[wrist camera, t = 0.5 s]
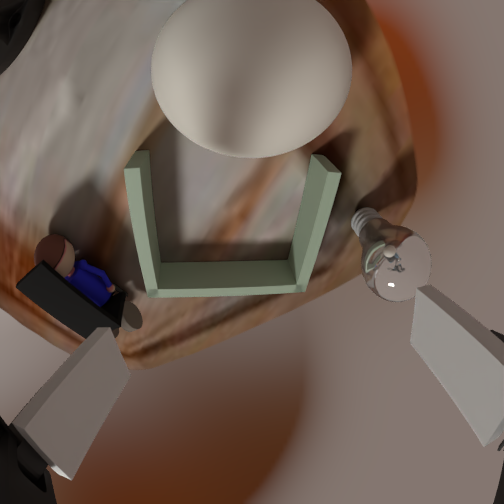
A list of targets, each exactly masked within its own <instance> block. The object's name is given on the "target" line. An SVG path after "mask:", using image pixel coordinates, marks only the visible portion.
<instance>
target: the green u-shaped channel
mask: <svg viewBox="0 0 504 504" xmlns="http://www.w3.org/2000/svg"><path fill="white" fill-rule="evenodd" d="M124 174H125V182H126V190H127V197H128V203H129V210H130V216H131V221H132V227H133V233H134V238H135V243H136V248H137V253H138V257H139V262H140V266H141V271H142V275H143V279H144V283H145V287H146V291H147V295H148V297H210V296H238V295H260V294H279V293H295V292H305V290H306V287H307V284H308V281H309V278H310V275H311V272H312V269H313V266H314V263H315V260H316V257H317V254H318V251H319V248H320V245H321V242H322V239H323V235H324V232H325V229H326V226H327V222H328V219H329V216H330V212H331V209H332V206H333V202H334V199H335V195H336V192H337V188H338V184H339V181H340V177H341V172H340V171H339V170H338V169H337V168H336V167H335V166H334V165H333V164H332V163H331V162H330V161H329V160H328V159H327V158H326V157H325V156H324V155H316V154H312V155H311V160H310V165H309V169H308V174H307V179H306V183H305V188H304V193H303V197H302V202H301V206H300V210H299V215H298V219H297V223H296V228H295V232H294V236H293V240H292V244H291V249H290V253H289V257H288V260H262V261H221V262H171V263H161V258H160V252H159V245H158V237H157V230H156V222H155V213H154V204H153V193H152V182H151V169H150V153H149V150H142V151H135V153H134V154H133V156H132V157H131V159H130V160H129V162H128V163H127V165H126V166H125V168H124Z"/></svg>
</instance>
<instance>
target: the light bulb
mask: <svg viewBox="0 0 504 504" xmlns="http://www.w3.org/2000/svg"><path fill="white" fill-rule="evenodd" d="M351 226H352V228H353V230H354V231H355V233H356V234H357V236H358V237H359V242H360V244H361V247H362V256H361V270H362V275H363V277H364V280H365V282H366V284H367V286H368V287H369V288H370V290H371V291H372V292H373V293H375V294H376V295H377V296H378V297H380V298H382V299H384V300H387V301H391V302H403V301H406V300H409V299H412V298H413V297H415V296H416V288H418V287H422V286H426V284H427V282H428V280H429V277H430V274H431V267H432V262H431V254H430V252H429V249H428V246H427V244H426V243H425V241H424V240H423V239H422V237H421V236H420V235H419V234H417V233H416V232H415V231H413V230H411V229H409V228H407V227H403V226H398V225H393V224H391V223H390V222H388V221H387V220H385V219H383V218H382V217H381V216H380V215H379V214H378V213H377V211H376V210H375V209H373V208H369V207H365V208H361V209H359V210H357V211H356V212H355V214H354V216H353V217H352V220H351Z"/></svg>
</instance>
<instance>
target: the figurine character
mask: <svg viewBox="0 0 504 504" xmlns="http://www.w3.org/2000/svg"><path fill="white" fill-rule="evenodd" d="M34 262H35V267H34V268H33V269H32V270H31V271H30V272H29V273H27V274H26V275H25V276H24V277H23V278H22V279H21V280H20V281H19V282H18V283H17V285H16V288H17V289H18V290H20V291H21V292H22V293H23V294H24V295H26V296H27V297H28V298H29V299H30V300H32V301H33V302H34V303H36V304H37V305H38V306H39V307H41V308H42V309H43V310H45V311H46V312H47V313H49V314H50V315H51V316H53V317H54V318H56V319H57V320H58V321H60V322H61V323H63V324H64V325H66V326H67V327H69V328H70V329H72V330H73V331H75V332H76V333H78V334H79V335H81V336H82V337H84V338H85V339H87V338H88V337H89V336H90V335H91V334H92V333H93V332H94V331H95V330H96V329H97V328H98V327H110V328H111V331H112V333H113V336H114V338H116V337H117V336H118V334H119V327H122V328H123V329H124V330H126V331H128V332H132V331H134V330H137V329H139V328H141V326H142V316H141V313H140V311H139V310H138V308H137V307H136V306H135V305H134V304H133V303H132V302H129V301H126V302H125V298H126V296H128V295H127V293H126V292H125V291H123V290H122V289H121V288H119V287H118V286H117V285H115V284H114V283H111V282H110V280H109V278H108V277H107V275H106V273H105V271H104V270H101V269H99V268H96V267H94V266H91V265H89V264H87V261H86V260H84V259H83V260H80V261H76V262H75V252H74V249H73V246H72V244H71V243H70V242H69V240H68V239H66V238H65V237H63V236H61V235H58V234H52V235H48V236H46V237H44V238H43V239H42V240H41V241H40V242H39V243H38V245H37V247H36V250H35V254H34ZM97 275H98V276H101V278H102V279H101V278H100V277H98V276H97ZM115 290H116V291H118V292H119V293H118V294H116V295H114V296H112V295H113V294H114V292H115Z"/></svg>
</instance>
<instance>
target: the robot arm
mask: <svg viewBox="0 0 504 504" xmlns="http://www.w3.org/2000/svg"><path fill="white" fill-rule="evenodd" d="M44 2H45V0H0V75H1V74H2V73H3V72H4V71H5V70H6V69H7V68H8V67H9V65H10V64H11V63H12V62H13V61H14V59H15V58H16V57H17V55H18V54H19V52H20V51H21V49H22V48H23V46H24V45H25V43H26V42H27V40H28V38H29V36H30V35H31V33H32V31H33V29H34V27H35V25H36V23H37V20H38V18H39V16H40V13H41V11H42V8H43V5H44ZM410 344H411V345H412V346H413V347H414V349H415V350H416V351H417V352H418V354H419V355H420V356H421V358H422V359H423V360H424V361H425V363H426V364H427V366H428V367H429V368H430V369H431V371H432V372H433V373H434V375H435V376H436V378H437V379H438V380H439V382H440V383H441V384H442V386H443V387H444V389H445V390H446V391H447V393H448V394H449V396H450V397H451V398H452V400H453V401H454V403H455V404H456V406H457V407H458V409H459V410H460V411H461V413H462V414H463V416H464V417H465V419H466V420H467V422H468V423H469V425H470V426H471V428H472V430H473V431H474V433H475V434H476V436H477V437H478V439H479V440H480V442H481V444H482V445H483V447H485V446H486V445H488V444H489V443H491V442H492V441H494V440H495V439H497V438H498V437H500V435H501V434H502V432H503V431H504V335H503V334H500V333H498V332H495V331H493V330H488V329H487V328H486V327H485V326H483V325H482V324H481V323H480V322H478V321H477V320H476V319H475V318H474V317H472V316H471V315H470V314H469V313H467V312H466V311H465V310H464V309H462V308H461V307H460V306H459V305H457V304H456V303H455V302H453V301H452V300H451V299H449V298H448V297H447V296H445V295H444V294H443V293H441V292H440V291H439V290H437V289H436V288H435V287H433V286H432V285H426V286H422V287H418V288H416V298H415V308H414V317H413V325H412V333H411V340H410ZM130 377H131V374H130V372H129V370H128V368H127V366H126V363H125V361H124V359H123V357H122V355H121V352H120V350H119V348H118V345H117V343H116V340H115V338H114V336H113V333H112V331H111V328H110V327H98V328H97V329H96V330H95V331H94V332H93V333H92V334H91V335H90V336H89V337H88V338H87V339H86V340H85V341H84V342H83V343H82V344H81V345H80V346H79V347H78V348H77V349H76V350H75V351H74V352H73V354H72V355H71V356H70V357H69V358H68V359H67V360H66V361H65V362H64V363H63V364H62V365H61V366H60V368H59V369H58V370H57V371H56V372H55V373H54V374H53V375H52V376H51V378H50V379H49V380H48V381H47V382H46V383H45V384H44V385H43V386H42V387H41V388H40V389H39V391H38V392H37V393H36V394H35V395H34V397H33V398H32V399H31V400H30V401H29V403H27V404H26V406H25V407H24V408H23V409H22V410H21V412H20V413H19V414H18V415H17V417H16V418H15V419H14V420H13V421H12V423H11V424H10V425H9V426H7V424H6V423H5V422H4V420H3V419H2V418H1V416H0V504H57V503H56V499H55V494H54V489H53V485H52V480H51V475H50V473H49V471H48V470H47V469H46V467H47V465H49V466H50V467H51V468H52V469H53V470H54V471H55V472H56V473H57V474H59V475H61V476H64V477H66V478H68V479H70V480H72V479H73V477H74V475H75V473H76V472H77V470H78V467H79V466H80V464H81V462H82V460H83V458H84V456H85V455H86V453H87V451H88V449H89V447H90V446H91V444H92V442H93V440H94V438H95V437H96V435H97V433H98V431H99V429H100V428H101V426H102V424H103V422H104V421H105V419H106V417H107V415H108V414H109V412H110V410H111V408H112V407H113V405H114V403H115V402H116V400H117V398H118V397H119V395H120V393H121V392H122V390H123V388H124V386H125V384H126V383H127V381H128V380H129V378H130ZM503 446H504V440H503V441H502V443H501V444H500V445H499V448H498V451H500V450H501V448H502V447H503ZM493 504H504V463H503V467H502V472H501V477H500V481H499V485H498V489H497V492H496V496H495V500H494V503H493Z"/></svg>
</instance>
